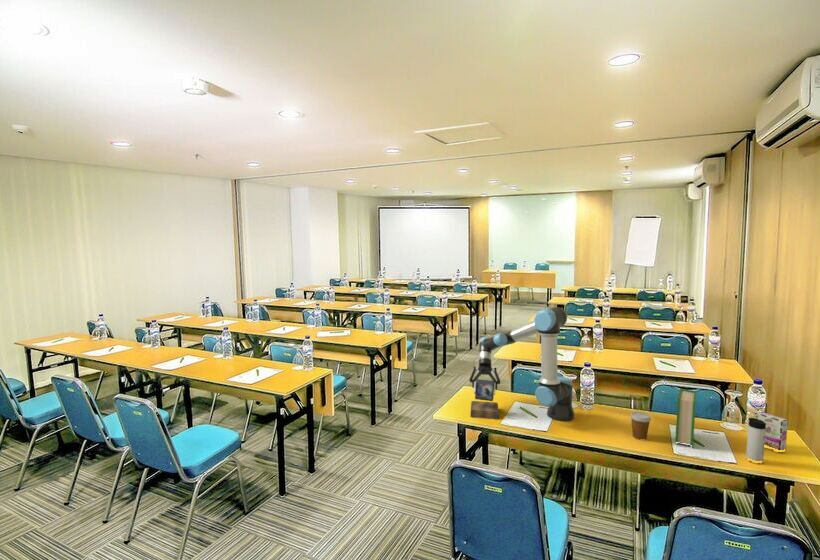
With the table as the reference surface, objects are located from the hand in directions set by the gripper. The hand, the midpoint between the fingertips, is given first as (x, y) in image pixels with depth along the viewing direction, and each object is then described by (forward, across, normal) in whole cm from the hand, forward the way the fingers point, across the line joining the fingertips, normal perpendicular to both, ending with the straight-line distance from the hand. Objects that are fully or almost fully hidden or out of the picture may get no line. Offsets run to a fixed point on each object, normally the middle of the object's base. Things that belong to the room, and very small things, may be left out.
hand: (484, 393), depth 251 cm
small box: (+1, 0, -5) cm, 5 cm away
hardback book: (+19, -102, +1) cm, 104 cm away
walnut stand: (+7, 0, -11) cm, 13 cm away
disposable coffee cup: (+20, -80, +2) cm, 83 cm away
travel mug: (+32, -124, +14) cm, 129 cm away
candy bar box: (+20, -140, +3) cm, 142 cm away
